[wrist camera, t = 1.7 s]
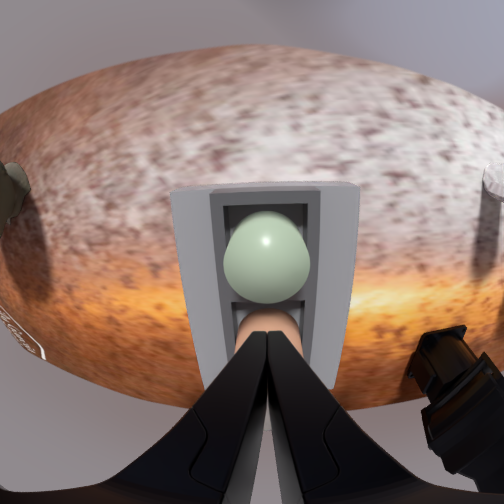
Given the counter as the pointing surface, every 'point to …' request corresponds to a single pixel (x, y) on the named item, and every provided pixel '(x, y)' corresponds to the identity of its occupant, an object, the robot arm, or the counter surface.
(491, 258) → the counter surface
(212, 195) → the button panel
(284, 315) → the button terracotta
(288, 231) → the button sage
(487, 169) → the milkshake
